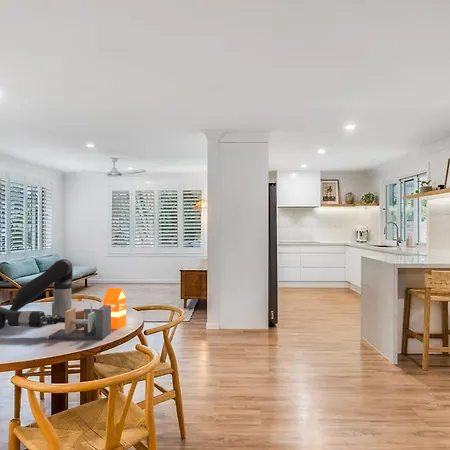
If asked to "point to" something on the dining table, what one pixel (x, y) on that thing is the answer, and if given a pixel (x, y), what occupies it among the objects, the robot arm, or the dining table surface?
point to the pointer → (91, 320)
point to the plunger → (72, 320)
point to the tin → (80, 318)
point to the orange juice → (116, 306)
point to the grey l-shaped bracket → (98, 333)
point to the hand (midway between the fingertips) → (68, 320)
